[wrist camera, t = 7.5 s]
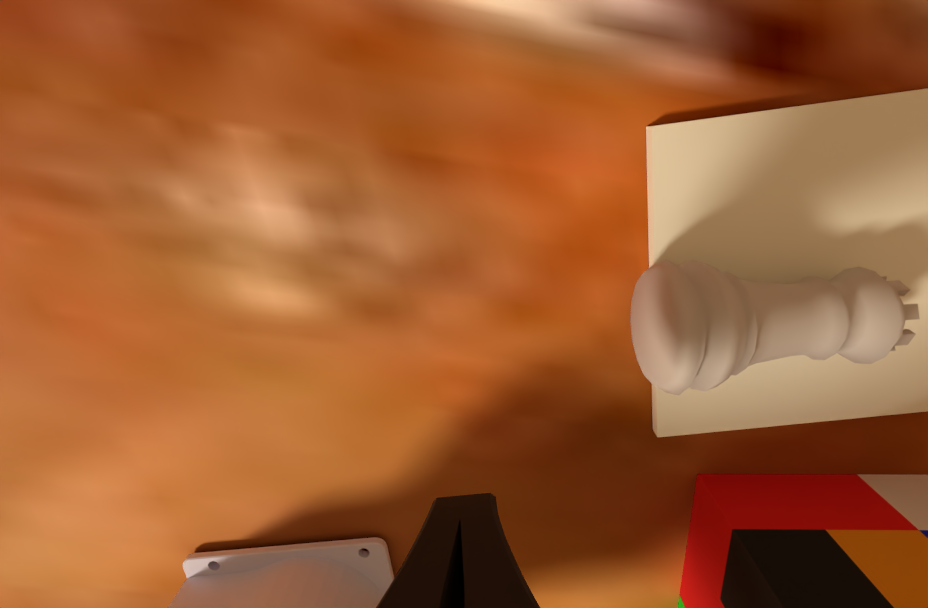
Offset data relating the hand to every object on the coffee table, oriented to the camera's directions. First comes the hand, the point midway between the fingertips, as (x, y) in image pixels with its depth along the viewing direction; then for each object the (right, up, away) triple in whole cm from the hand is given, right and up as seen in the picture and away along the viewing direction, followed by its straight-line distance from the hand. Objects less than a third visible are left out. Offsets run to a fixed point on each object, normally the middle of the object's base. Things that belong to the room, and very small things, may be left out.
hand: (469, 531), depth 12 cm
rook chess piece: (+6, +4, +5) cm, 9 cm away
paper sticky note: (+12, +6, +7) cm, 16 cm away
